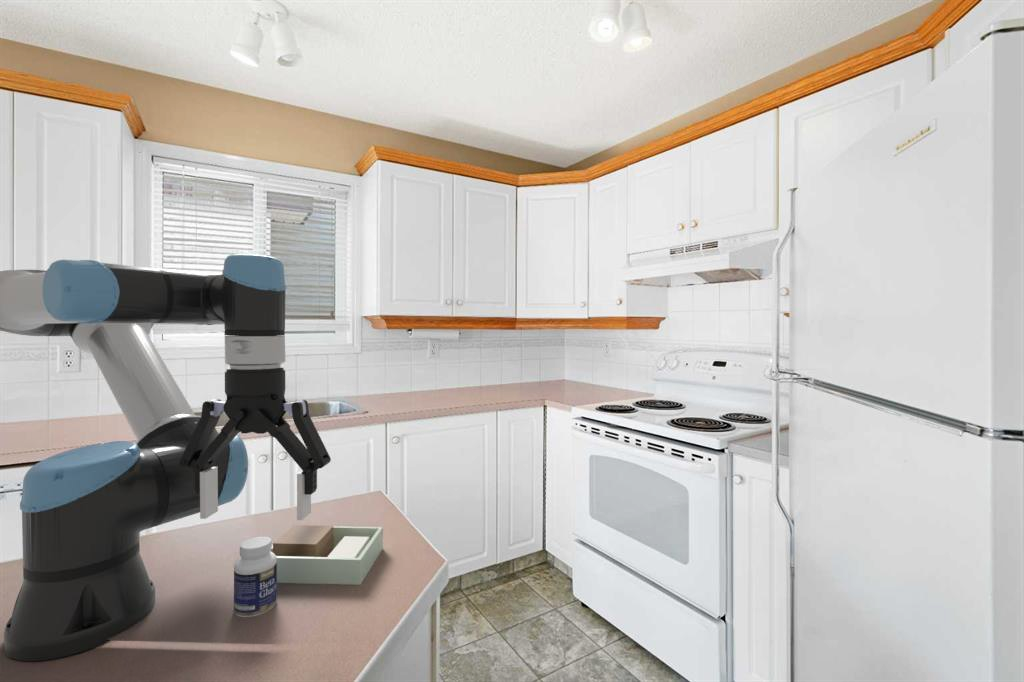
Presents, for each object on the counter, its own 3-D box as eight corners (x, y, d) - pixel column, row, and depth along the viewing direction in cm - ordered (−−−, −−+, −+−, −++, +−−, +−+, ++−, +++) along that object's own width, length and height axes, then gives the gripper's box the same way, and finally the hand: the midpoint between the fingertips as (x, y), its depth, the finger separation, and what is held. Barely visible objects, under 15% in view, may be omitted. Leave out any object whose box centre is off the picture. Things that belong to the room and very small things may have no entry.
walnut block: (272, 573, 76) (272, 543, 76) (293, 553, 83) (293, 525, 83) (316, 575, 76) (316, 544, 76) (333, 554, 83) (333, 526, 83)
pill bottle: (264, 621, 65) (264, 551, 65) (225, 620, 65) (225, 550, 65) (283, 599, 70) (283, 534, 70) (247, 598, 71) (247, 533, 70)
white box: (325, 576, 76) (325, 558, 76) (344, 553, 84) (344, 536, 84) (353, 577, 76) (353, 559, 76) (369, 553, 84) (369, 536, 84)
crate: (258, 585, 74) (258, 557, 74) (294, 549, 86) (294, 525, 86) (360, 588, 74) (360, 559, 73) (382, 551, 86) (382, 527, 85)
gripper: (147, 367, 63) (149, 525, 64) (333, 369, 63) (333, 528, 63) (187, 363, 71) (188, 504, 71) (353, 365, 70) (353, 507, 71)
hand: (256, 516), depth 67 cm, fingers open, 13 cm apart
